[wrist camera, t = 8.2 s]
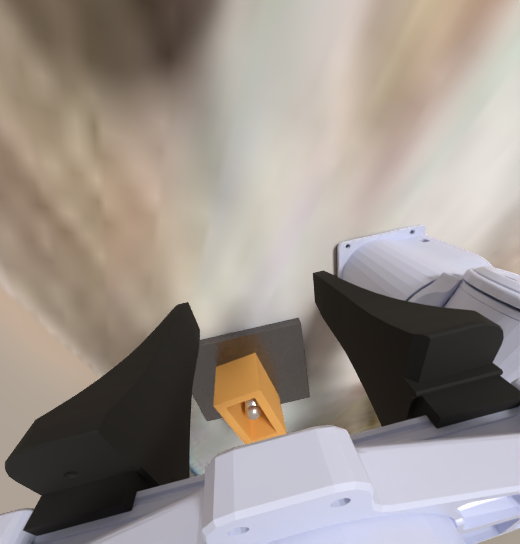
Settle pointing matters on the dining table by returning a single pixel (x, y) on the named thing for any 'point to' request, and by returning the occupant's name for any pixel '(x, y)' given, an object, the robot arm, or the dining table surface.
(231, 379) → the orange hollow rectangular block
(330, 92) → the dining table surface
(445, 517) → the robot arm
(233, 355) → the keeper plate
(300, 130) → the dining table surface
